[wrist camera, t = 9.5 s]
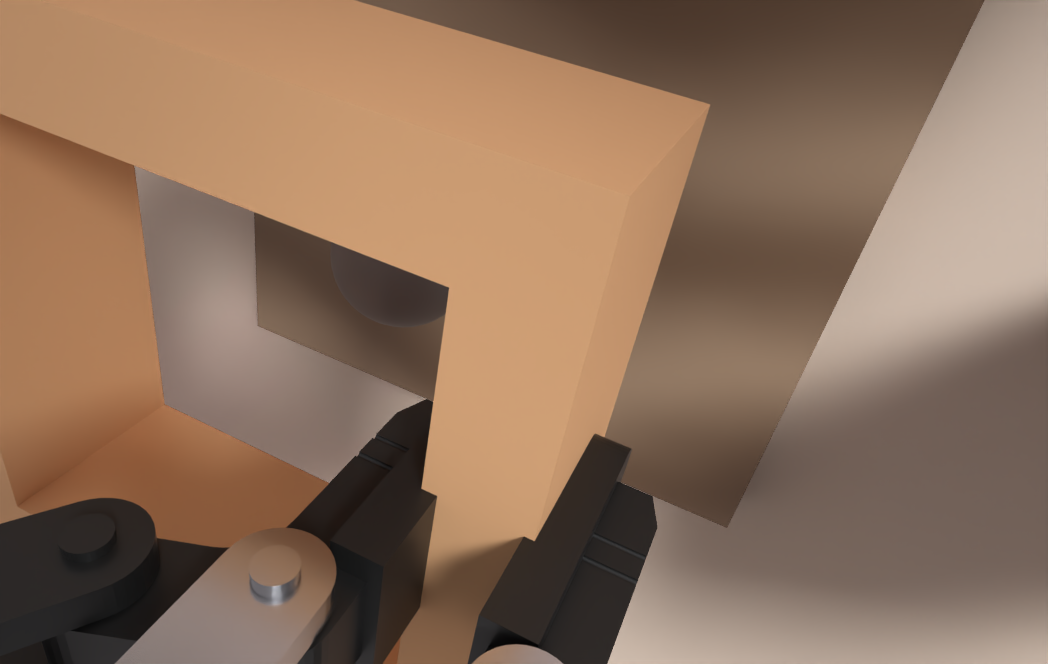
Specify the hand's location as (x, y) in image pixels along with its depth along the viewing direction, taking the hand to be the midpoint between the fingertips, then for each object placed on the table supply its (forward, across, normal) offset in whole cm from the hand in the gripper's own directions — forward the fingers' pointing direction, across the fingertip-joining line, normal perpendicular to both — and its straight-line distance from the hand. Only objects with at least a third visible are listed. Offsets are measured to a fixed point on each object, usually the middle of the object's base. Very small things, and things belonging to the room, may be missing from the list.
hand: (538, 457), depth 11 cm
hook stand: (+12, +5, 0) cm, 12 cm away
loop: (+1, +5, 0) cm, 5 cm away
